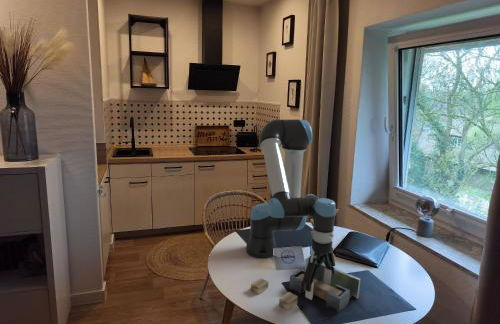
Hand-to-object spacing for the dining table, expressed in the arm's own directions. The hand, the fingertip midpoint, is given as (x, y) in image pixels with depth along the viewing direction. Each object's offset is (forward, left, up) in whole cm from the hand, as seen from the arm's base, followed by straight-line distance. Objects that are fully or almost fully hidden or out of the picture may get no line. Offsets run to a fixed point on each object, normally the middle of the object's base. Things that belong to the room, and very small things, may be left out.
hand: (318, 290), depth 136 cm
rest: (-12, -13, -2) cm, 18 cm away
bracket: (0, +3, -2) cm, 4 cm away
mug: (-11, +18, -2) cm, 21 cm away
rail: (0, 0, -1) cm, 1 cm away
